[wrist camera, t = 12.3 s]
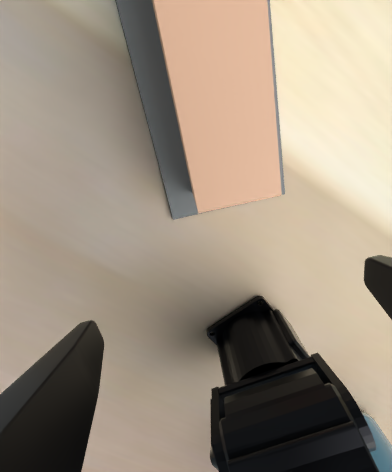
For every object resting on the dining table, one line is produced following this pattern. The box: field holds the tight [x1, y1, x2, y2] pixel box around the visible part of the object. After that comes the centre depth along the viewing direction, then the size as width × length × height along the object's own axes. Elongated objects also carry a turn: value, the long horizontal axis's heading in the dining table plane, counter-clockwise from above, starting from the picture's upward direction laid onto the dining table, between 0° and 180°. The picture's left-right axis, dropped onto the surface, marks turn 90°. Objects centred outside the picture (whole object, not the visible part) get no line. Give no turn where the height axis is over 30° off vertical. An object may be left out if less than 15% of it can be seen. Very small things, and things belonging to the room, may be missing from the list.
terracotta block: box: [152, 0, 282, 213], centre depth 15 cm, size 5×5×14 cm
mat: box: [116, 0, 285, 220], centre depth 18 cm, size 16×9×1 cm, turn 12°
